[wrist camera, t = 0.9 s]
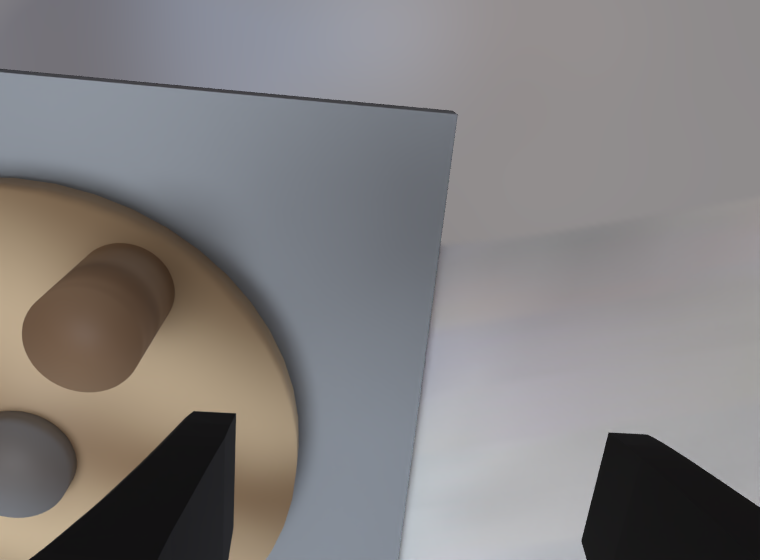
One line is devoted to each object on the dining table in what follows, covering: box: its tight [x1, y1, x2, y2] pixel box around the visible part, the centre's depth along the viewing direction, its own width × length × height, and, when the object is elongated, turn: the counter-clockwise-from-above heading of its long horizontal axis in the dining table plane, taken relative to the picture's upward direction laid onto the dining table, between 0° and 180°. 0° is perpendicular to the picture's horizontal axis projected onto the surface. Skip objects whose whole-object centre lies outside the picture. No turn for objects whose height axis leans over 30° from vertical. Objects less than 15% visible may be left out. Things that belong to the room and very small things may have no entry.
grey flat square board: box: [0, 69, 457, 560], centre depth 20 cm, size 20×22×1 cm
